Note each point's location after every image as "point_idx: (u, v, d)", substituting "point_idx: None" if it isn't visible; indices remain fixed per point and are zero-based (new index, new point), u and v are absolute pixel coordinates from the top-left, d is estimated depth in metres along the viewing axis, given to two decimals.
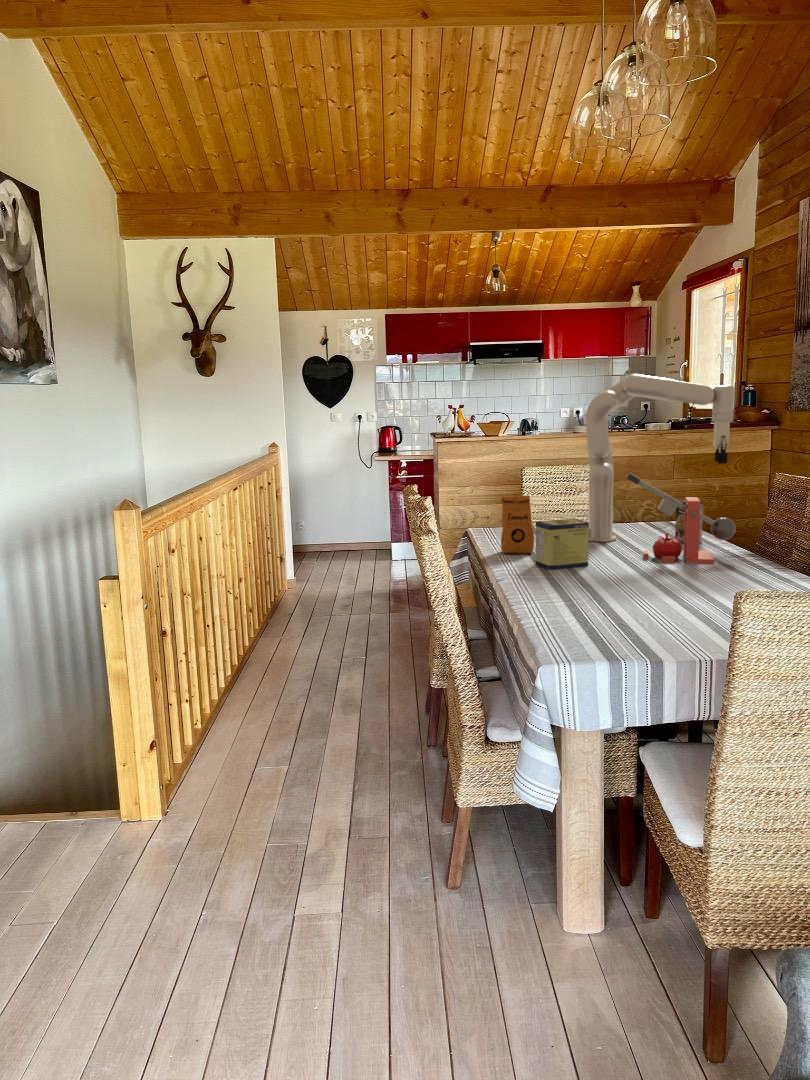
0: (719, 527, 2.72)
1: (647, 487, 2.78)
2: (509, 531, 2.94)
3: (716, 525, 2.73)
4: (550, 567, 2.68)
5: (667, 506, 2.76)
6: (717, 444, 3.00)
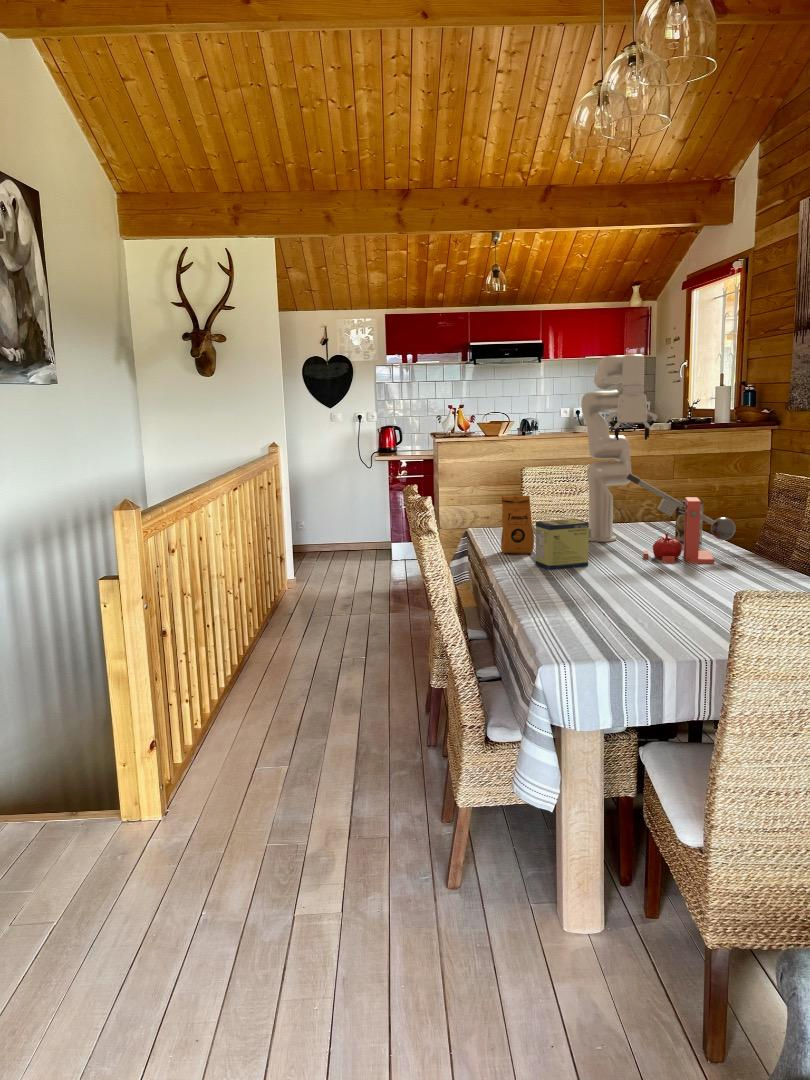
0: (719, 527, 2.72)
1: (647, 487, 2.78)
2: (509, 531, 2.94)
3: (716, 525, 2.73)
4: (550, 567, 2.68)
5: (667, 506, 2.76)
6: (646, 418, 2.74)
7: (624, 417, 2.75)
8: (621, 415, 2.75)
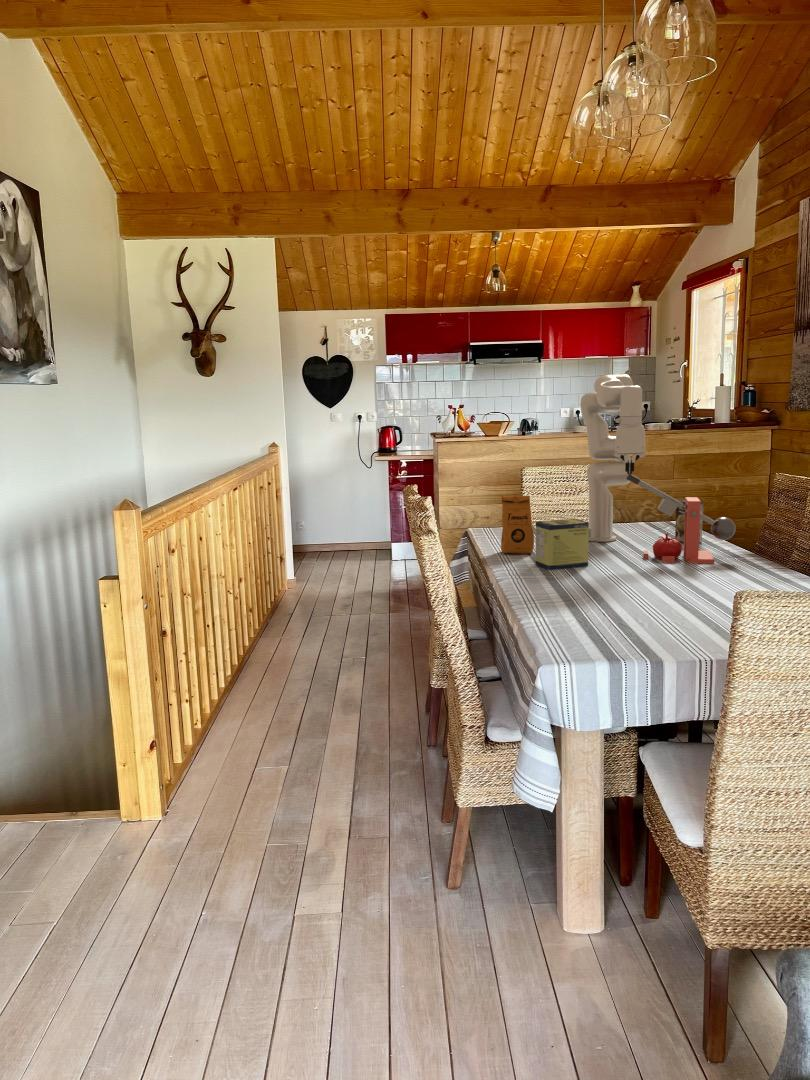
0: (719, 527, 2.72)
1: (646, 487, 2.78)
2: (509, 531, 2.94)
3: (716, 525, 2.73)
4: (550, 567, 2.68)
5: (667, 506, 2.76)
6: (644, 449, 2.75)
7: (622, 448, 2.77)
8: (619, 446, 2.77)
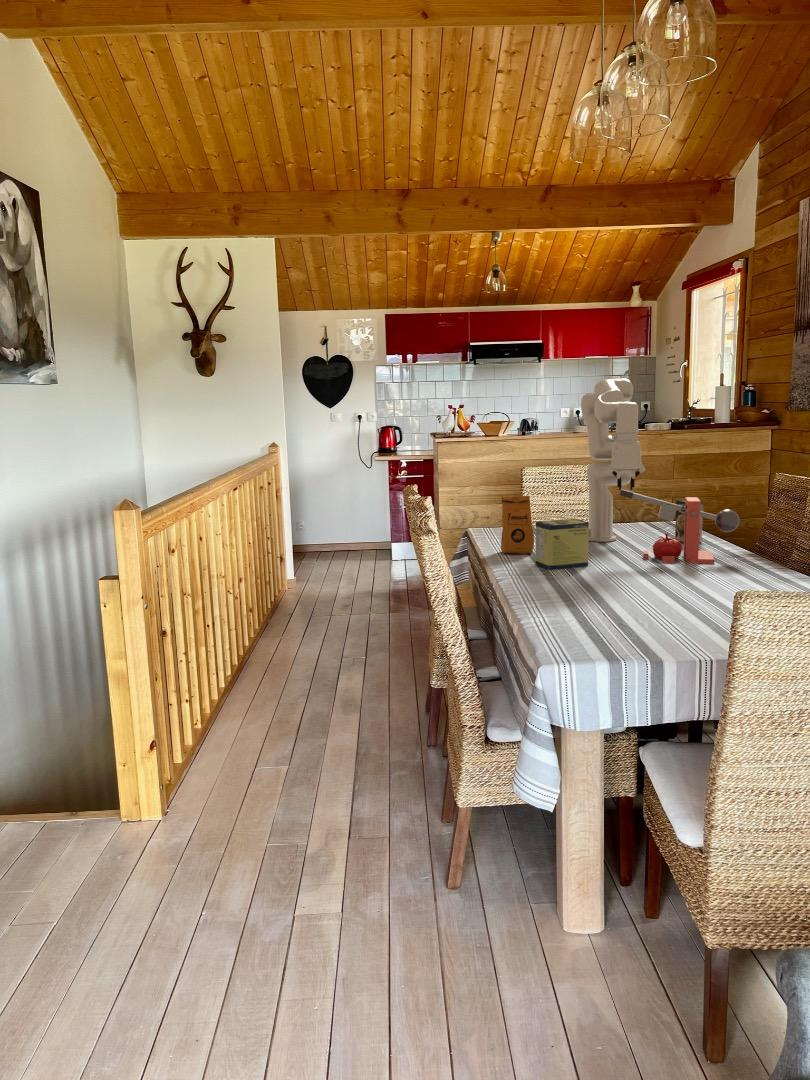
0: (722, 521, 2.72)
1: (641, 499, 2.79)
2: (509, 531, 2.94)
3: (719, 519, 2.73)
4: (550, 567, 2.68)
5: (666, 512, 2.76)
6: (640, 466, 2.77)
7: (618, 464, 2.78)
8: (615, 462, 2.78)
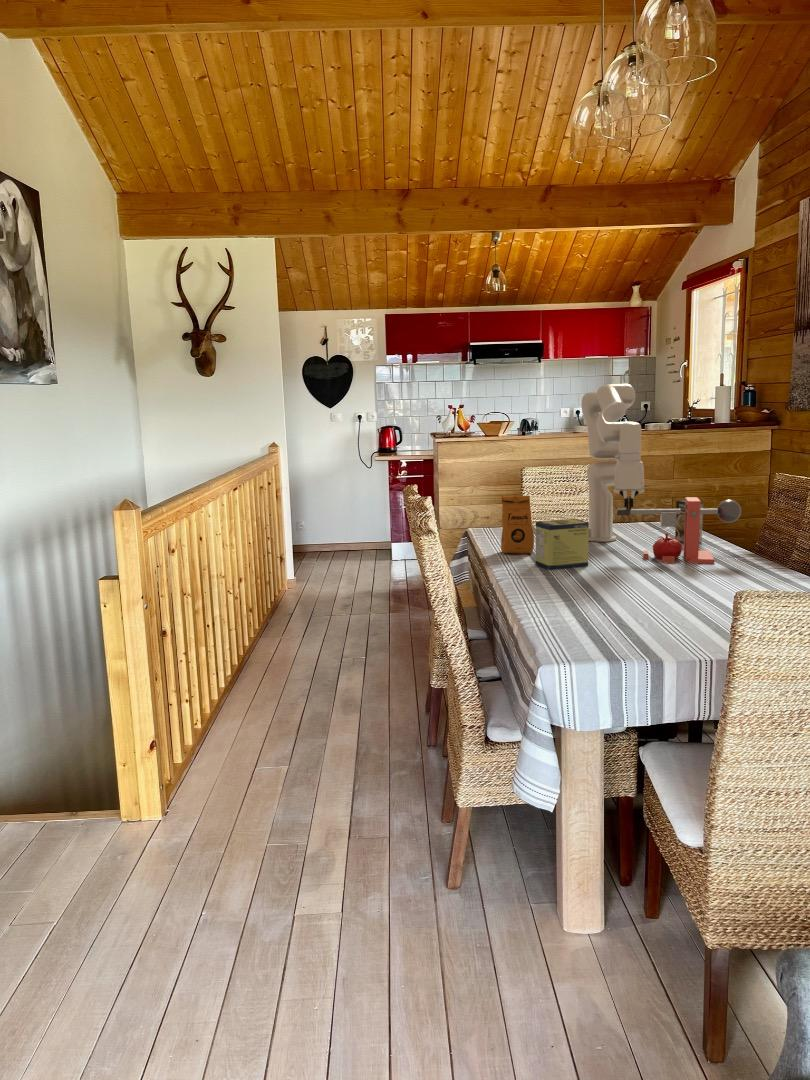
0: (723, 512, 2.71)
1: (640, 513, 2.80)
2: (509, 531, 2.94)
3: (720, 512, 2.72)
4: (550, 567, 2.68)
5: (667, 519, 2.77)
6: (643, 486, 2.78)
7: (621, 484, 2.79)
8: (618, 482, 2.79)
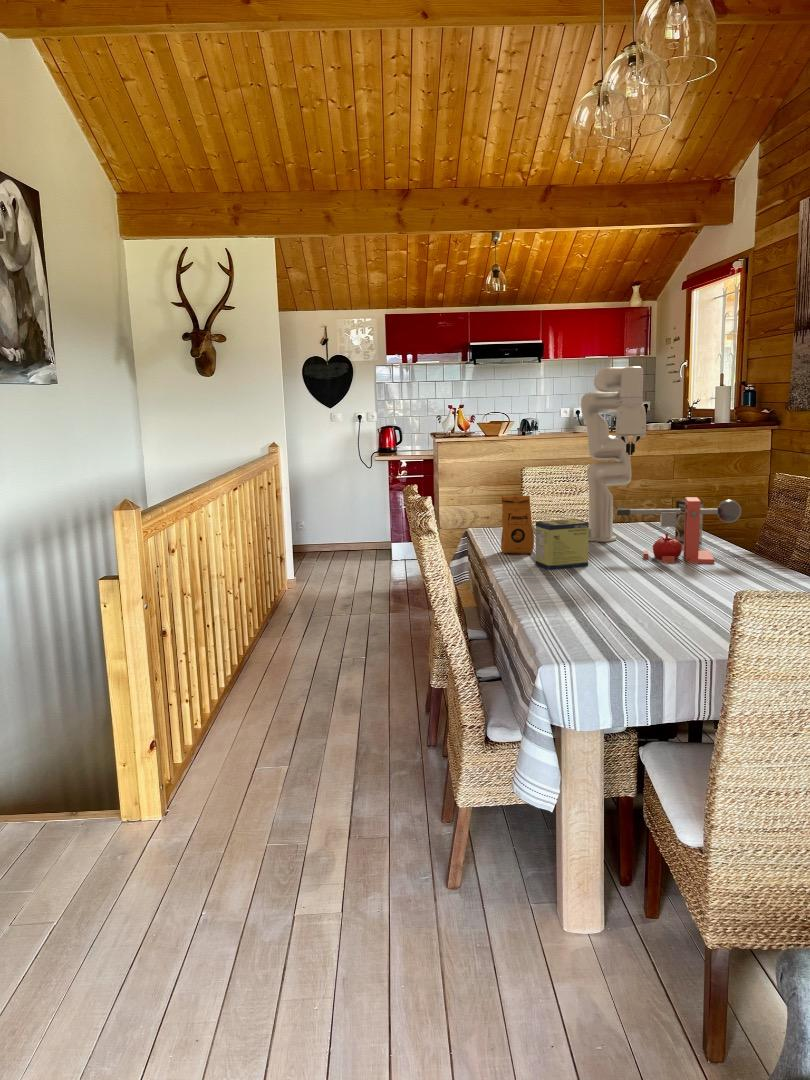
0: (723, 512, 2.71)
1: (640, 513, 2.80)
2: (509, 531, 2.94)
3: (720, 512, 2.72)
4: (550, 567, 2.68)
5: (667, 519, 2.77)
6: (645, 430, 2.75)
7: (623, 429, 2.76)
8: (620, 427, 2.76)
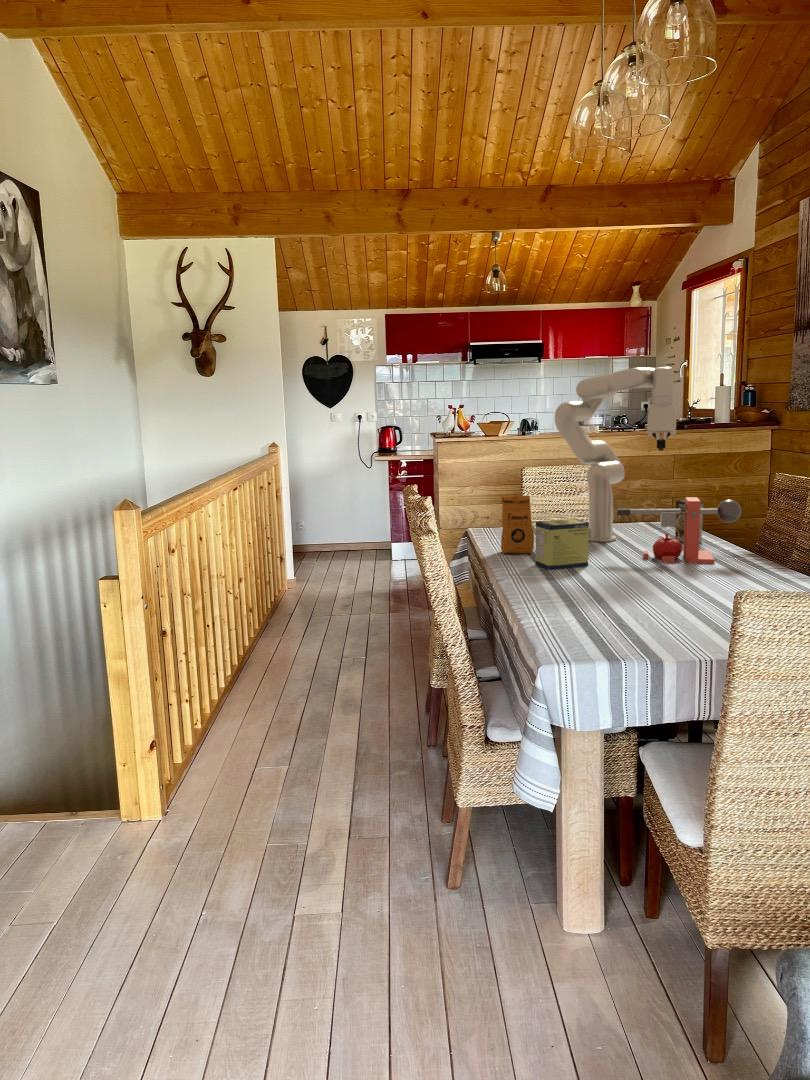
0: (723, 512, 2.71)
1: (640, 513, 2.80)
2: (509, 531, 2.94)
3: (720, 512, 2.72)
4: (550, 567, 2.68)
5: (667, 519, 2.77)
6: (675, 427, 2.92)
7: (654, 426, 2.93)
8: (651, 424, 2.94)
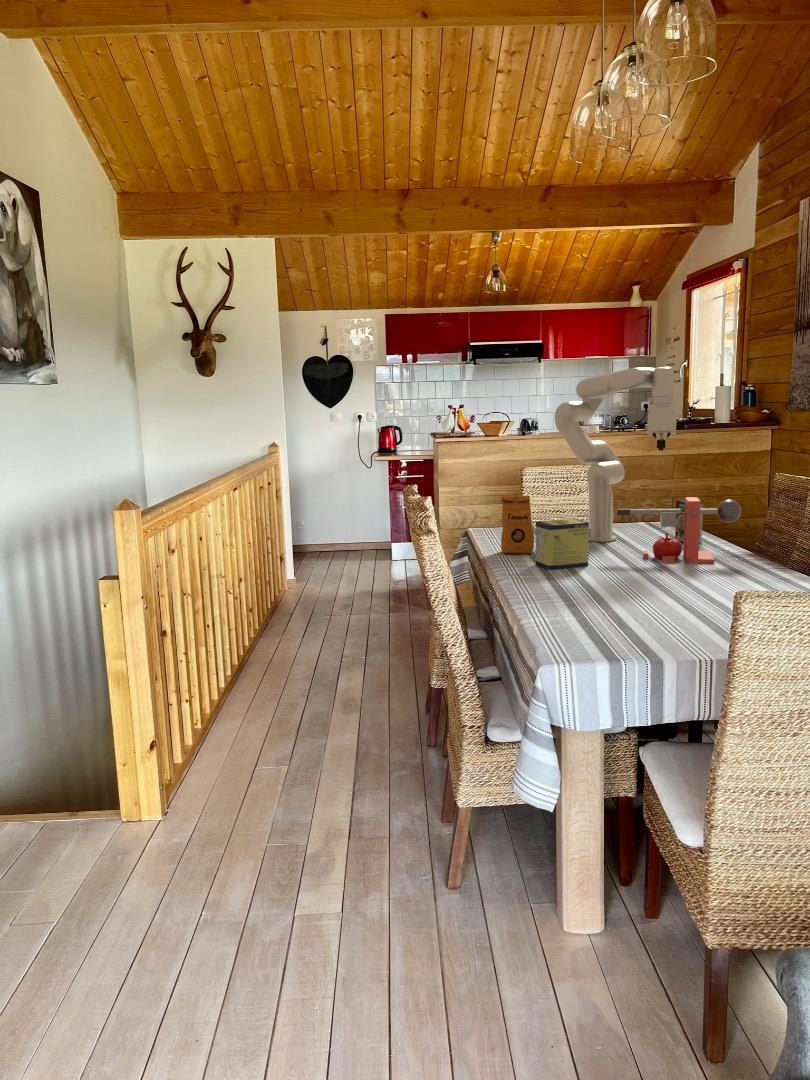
0: (723, 512, 2.71)
1: (640, 513, 2.80)
2: (509, 531, 2.94)
3: (720, 512, 2.72)
4: (550, 567, 2.68)
5: (667, 519, 2.77)
6: (675, 427, 2.92)
7: (654, 426, 2.93)
8: (651, 424, 2.94)
